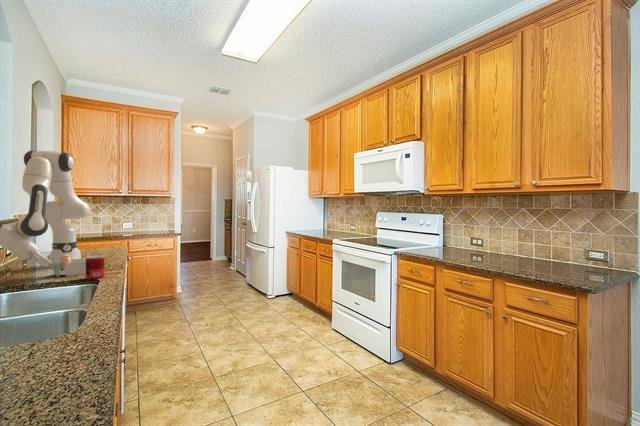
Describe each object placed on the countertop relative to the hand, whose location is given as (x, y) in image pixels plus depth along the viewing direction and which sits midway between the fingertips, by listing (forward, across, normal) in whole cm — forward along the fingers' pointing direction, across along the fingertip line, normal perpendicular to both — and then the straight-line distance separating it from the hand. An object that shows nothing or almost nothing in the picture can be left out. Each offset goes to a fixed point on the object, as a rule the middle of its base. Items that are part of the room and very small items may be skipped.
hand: (53, 268), depth 171 cm
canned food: (+13, -19, -7) cm, 24 cm away
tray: (+8, 0, -2) cm, 8 cm away
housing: (+10, 0, -4) cm, 10 cm away
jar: (+5, 0, -2) cm, 6 cm away
